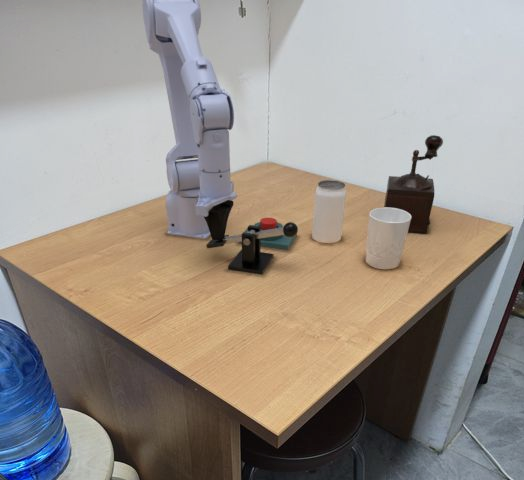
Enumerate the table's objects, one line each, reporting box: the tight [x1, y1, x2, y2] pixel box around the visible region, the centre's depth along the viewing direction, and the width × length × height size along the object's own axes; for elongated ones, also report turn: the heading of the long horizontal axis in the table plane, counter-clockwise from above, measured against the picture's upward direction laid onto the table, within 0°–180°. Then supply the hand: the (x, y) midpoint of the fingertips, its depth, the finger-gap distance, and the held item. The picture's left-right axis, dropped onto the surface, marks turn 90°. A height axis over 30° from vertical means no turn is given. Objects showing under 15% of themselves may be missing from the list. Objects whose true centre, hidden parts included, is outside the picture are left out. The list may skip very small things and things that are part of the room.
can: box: [311, 179, 347, 244], centre depth 104 cm, size 6×6×12 cm
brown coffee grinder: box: [383, 134, 444, 234], centre depth 112 cm, size 16×11×18 cm
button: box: [259, 217, 278, 230], centre depth 104 cm, size 4×4×2 cm
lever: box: [206, 221, 299, 249], centre depth 94 cm, size 18×4×3 cm, turn 74°
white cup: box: [365, 206, 412, 270], centre depth 96 cm, size 8×8×10 cm
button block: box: [238, 221, 298, 251], centre depth 106 cm, size 11×8×3 cm
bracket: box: [227, 224, 275, 276], centre depth 95 cm, size 7×8×7 cm
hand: (218, 238), depth 96 cm, fingers closed, pressing on lever
